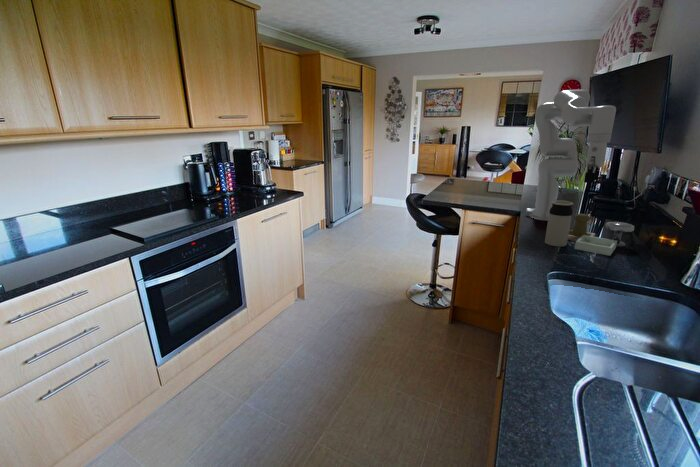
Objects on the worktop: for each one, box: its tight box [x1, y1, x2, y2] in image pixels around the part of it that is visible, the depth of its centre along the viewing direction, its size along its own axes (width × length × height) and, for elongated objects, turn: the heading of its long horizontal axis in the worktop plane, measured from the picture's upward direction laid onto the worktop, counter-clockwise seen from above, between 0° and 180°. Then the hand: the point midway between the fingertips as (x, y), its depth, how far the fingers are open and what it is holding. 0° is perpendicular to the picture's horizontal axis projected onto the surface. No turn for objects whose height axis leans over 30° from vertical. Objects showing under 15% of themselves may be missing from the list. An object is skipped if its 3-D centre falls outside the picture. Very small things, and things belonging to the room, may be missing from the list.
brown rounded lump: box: [571, 213, 590, 237], centre depth 143 cm, size 6×6×11 cm
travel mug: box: [544, 199, 574, 248], centre depth 136 cm, size 8×8×18 cm
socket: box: [567, 229, 596, 242], centre depth 144 cm, size 10×10×2 cm
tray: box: [574, 235, 617, 256], centre depth 132 cm, size 12×12×3 cm
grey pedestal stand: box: [605, 221, 635, 248], centre depth 135 cm, size 9×9×9 cm
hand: (591, 181), depth 137 cm, fingers open, 9 cm apart
